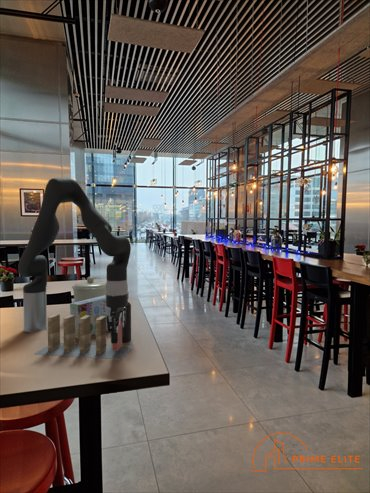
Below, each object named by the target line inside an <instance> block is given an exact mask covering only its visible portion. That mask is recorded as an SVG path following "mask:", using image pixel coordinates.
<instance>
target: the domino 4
mask: <svg viewBox="0 0 370 493" xmlns="http://www.w3.org/2000/svg"><path fill="white" fill-rule="evenodd" d="M95 345H96V354H101V353H102V352H103V351H104V350H106V345H107V331H106V316H101V317H99V318H97V319H96V333H95Z"/></svg>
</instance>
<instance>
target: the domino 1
mask: <svg viewBox="0 0 370 493" xmlns="http://www.w3.org/2000/svg"><path fill="white" fill-rule="evenodd" d="M60 343H61V314H60V313H59V314H58V313H55V314H53V315H50V316H47V346H48V351H54V350H55V349H57V348H58V347H60Z"/></svg>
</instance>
